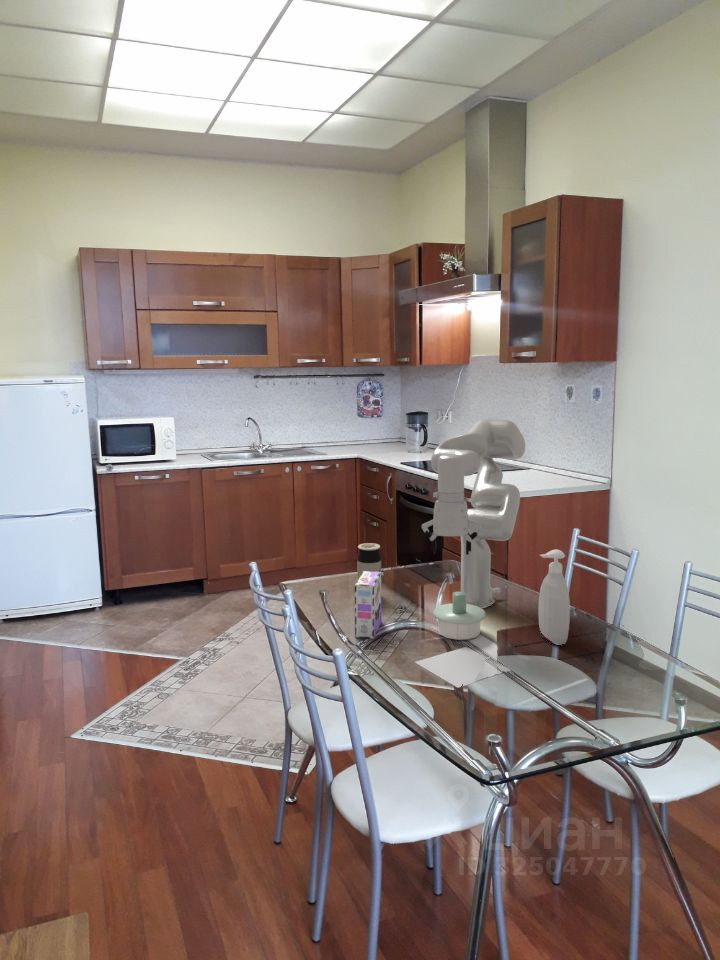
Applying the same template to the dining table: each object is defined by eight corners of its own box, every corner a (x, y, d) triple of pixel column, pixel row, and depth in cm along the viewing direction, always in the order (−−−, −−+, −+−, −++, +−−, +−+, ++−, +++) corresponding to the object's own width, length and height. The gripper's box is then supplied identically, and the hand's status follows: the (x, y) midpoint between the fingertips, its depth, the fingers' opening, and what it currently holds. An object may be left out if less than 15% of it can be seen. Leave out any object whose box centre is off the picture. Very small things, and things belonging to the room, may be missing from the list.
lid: (462, 602, 227) (462, 582, 225) (496, 617, 214) (496, 596, 213) (423, 612, 219) (423, 591, 217) (456, 628, 206) (456, 606, 205)
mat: (465, 648, 207) (465, 646, 207) (511, 672, 192) (511, 670, 192) (414, 664, 198) (414, 662, 198) (457, 689, 183) (457, 687, 183)
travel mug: (353, 598, 249) (352, 547, 246) (365, 591, 256) (365, 541, 252) (373, 602, 245) (373, 550, 242) (385, 595, 252) (385, 544, 248)
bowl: (461, 624, 226) (461, 604, 225) (488, 636, 216) (488, 616, 215) (430, 632, 219) (430, 612, 218) (456, 646, 209) (456, 625, 208)
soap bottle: (526, 632, 219) (528, 544, 214) (551, 629, 220) (554, 542, 215) (549, 652, 205) (553, 558, 200) (576, 648, 207) (580, 556, 202)
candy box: (374, 639, 215) (373, 585, 212) (354, 638, 216) (353, 584, 213) (382, 622, 228) (382, 571, 225) (363, 620, 229) (363, 570, 226)
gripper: (420, 499, 212) (420, 556, 216) (480, 500, 209) (480, 558, 213) (422, 493, 220) (422, 548, 223) (481, 494, 216) (480, 550, 220)
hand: (451, 553), depth 218 cm, fingers open, 9 cm apart
